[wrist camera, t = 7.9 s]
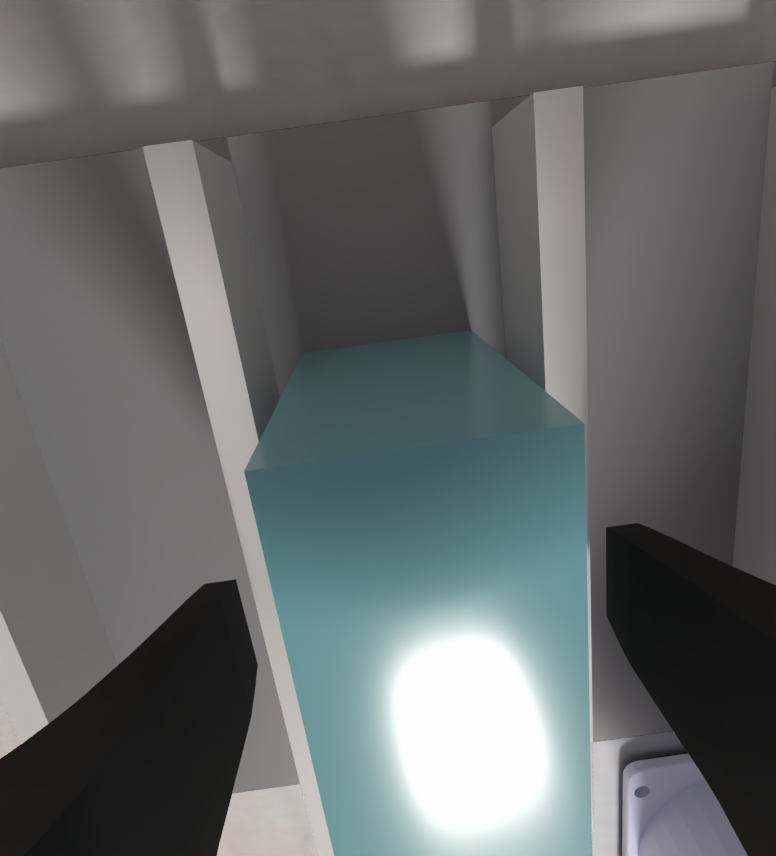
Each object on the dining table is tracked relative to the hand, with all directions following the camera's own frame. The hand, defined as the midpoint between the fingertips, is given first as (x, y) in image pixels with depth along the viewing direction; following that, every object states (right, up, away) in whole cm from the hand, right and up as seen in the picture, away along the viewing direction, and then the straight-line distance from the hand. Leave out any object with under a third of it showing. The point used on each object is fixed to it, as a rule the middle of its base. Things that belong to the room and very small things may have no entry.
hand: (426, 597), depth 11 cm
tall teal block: (0, +2, +4) cm, 4 cm away
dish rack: (0, +2, +5) cm, 5 cm away
